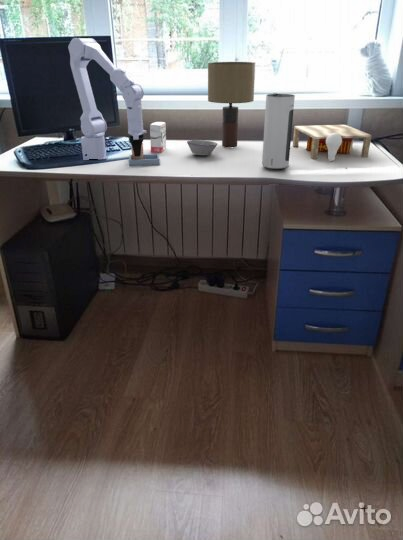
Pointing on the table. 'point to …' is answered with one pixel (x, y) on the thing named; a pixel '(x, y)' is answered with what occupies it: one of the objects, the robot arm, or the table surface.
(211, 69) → the lamp
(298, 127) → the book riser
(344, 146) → the book
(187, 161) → the table surface
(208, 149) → the bowl
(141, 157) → the wooden cylinder
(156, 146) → the ink box
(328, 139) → the lightbulb
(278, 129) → the speaker
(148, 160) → the tray
